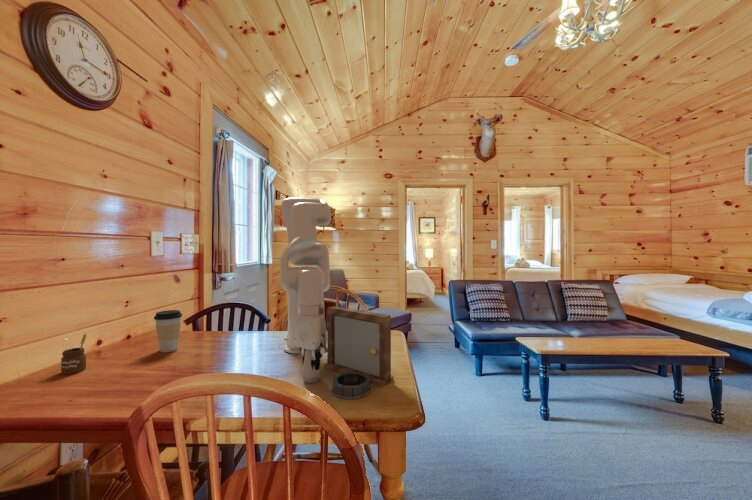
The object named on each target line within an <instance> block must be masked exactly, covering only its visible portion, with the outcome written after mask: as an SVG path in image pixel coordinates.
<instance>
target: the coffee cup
mask: <svg viewBox="0 0 752 500" xmlns="http://www.w3.org/2000/svg"><path fill="white" fill-rule="evenodd" d="M182 317H183V313H182V312H181V310H178V309H173V310H172V309H169V310H168V309H167V310H161V311H157V312H156V314H155V315H154V316H153V320H155V330H156V338H157V340H158V341H157V342H158V348H159V349H158V350H159V352H160V353H170V352H175V351H176V350H178V348H179V339H180V336H181V333H180V332H181V324H182V323H181V321H182Z"/></svg>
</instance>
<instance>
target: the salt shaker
mask: <svg viewBox="0 0 752 500" xmlns="http://www.w3.org/2000/svg"><path fill="white" fill-rule="evenodd" d="M317 352H318V351H316V353H317ZM311 360H312V351H311V350H307V349H306V350H305V356H304V363H303V362H302V369H301V376H302V378H303V380H304V381H305V383H307V384H308V383H309V384H312V383H317V382H318V380H319V378H320V376H321V374H322V370H321V369H322V368H321V367H320V368H319V370H315V367H313V370H312V367H311Z"/></svg>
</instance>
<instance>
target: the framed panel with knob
mask: <svg viewBox="0 0 752 500" xmlns="http://www.w3.org/2000/svg"><path fill="white" fill-rule="evenodd" d="M326 310H327V311H326V330H327V344H326V347H327V349H328V352H327V358H326V360H327V362H326V363H324V364H323V367H324V369H326V370H329V371H332V372H336V373H338V374H342V373H348V372H359V373H363V374H366V375H367V376H368V377H369V378H370V385H374V386H378V387H380V388H383V387H385V386H386V385H388V384H390V383H391V382H393V381H395V378H394V377H395V375H392V373H391V372H392V367H391V365H392V361H391V360H392V359H391V357H392V354H391V353H392V348H391V347H392V344H391V343H392V340H391V339H392V331H391V330H392V326H391V325H392V324H391V323H392V322H391V320H392V319H391V317H392V316H391V314H386V313H385V314H384V313H379V312H372V311H366V310H360V309H359V310H358V309H354V308H353V309H352V308H347V307H340V306H334V305H333V306H329V307H326ZM335 315H338V316H344V317H349V318H355V319H360V320H366V321H371V322H377V323H379V360H380V377H377V376H374V375H371V374H368V373H365V372H361V371H358V370H355V369H352V368H349V367H345V366H342V365H339V364H336V363H335V329H334V316H335Z"/></svg>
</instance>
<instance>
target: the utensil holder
mask: <svg viewBox="0 0 752 500" xmlns="http://www.w3.org/2000/svg"><path fill="white" fill-rule="evenodd" d="M86 338H87V333H84V334H83V335H82V338H81V341H80V347H73V346H74V345H73V340H72V339H70V340H68V337H66V338H64V342H63V343H61V344H62V346H64V345H65V346H68V345H69V348H64V350H63V351H62V357H61V359H60V372H61V375H72V374H77V373H80V372H82V371H85V370H86V368H87V355H86V353H85V348H84V347H83V345H84V344H85V341H86ZM67 340H68V342H67ZM66 342H67V343H66ZM67 344H68V345H67Z"/></svg>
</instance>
